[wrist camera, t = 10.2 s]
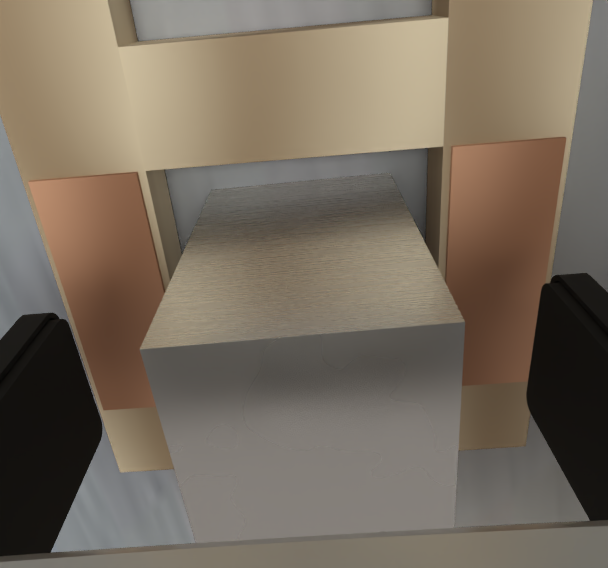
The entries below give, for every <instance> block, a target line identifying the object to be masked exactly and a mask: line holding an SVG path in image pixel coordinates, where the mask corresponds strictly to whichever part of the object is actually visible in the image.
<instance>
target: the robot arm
mask: <svg viewBox="0 0 608 568" xmlns="http://www.w3.org/2000/svg"><path fill="white" fill-rule="evenodd" d="M526 399H527V405H528V408H529V411H530V413H531V415H532V416H533V418H534V420H535V422H536V424H537V425H538V427H539V429H540V431H541V433H542V435H543V436H544V438H545V440H546V442H547V444H548V445H549V447H550V449H551V451H552V453H553V454H554V456H555V458H556V460H557V462H558V463H559V465H560V467H561V469H562V471H563V472H564V474H565V476H566V478H567V480H568V482H569V483H570V485H571V487H572V489H573V491H574V492H575V494H576V496H577V498H578V500H579V501H580V503H581V505H582V507H583V509H584V510H585V512H586V514H587V516H588V518H589V519H590V521H579V522H553V523H533V524H515V525H497V526H479V527H460V528H442V529H424V530H405V531H387V532H371V533H354V534H337V535H320V536H303V537H287V538H270V539H254V540H238V541H222V542H205V543H190V544H175V545H159V546H144V547H129V548H114V549H99V550H84V551H69V552H54V553H50V552H51V550H52V548H53V546H54V543H55V541H56V539H57V537H58V535H59V532H60V530H61V528H62V526H63V523H64V521H65V519H66V517H67V514H68V512H69V510H70V508H71V505H72V503H73V501H74V499H75V496H76V494H77V492H78V490H79V487H80V485H81V483H82V481H83V478H84V476H85V474H86V472H87V469H88V467H89V465H90V463H91V460H92V458H93V456H94V454H95V452H96V449H97V447H98V445H99V443H100V440H101V437H102V422H101V419H100V416H99V413H98V410H97V407H96V404H95V401H94V398H93V395H92V392H91V389H90V386H89V383H88V380H87V377H86V374H85V371H84V368H83V365H82V362H81V359H80V356H79V353H78V350H77V347H76V345H75V342H74V339H73V336H72V333H71V330H70V327H69V324H68V322H67V321H66V320H64V319H59V317H58V316H57V315H56V314H54V313H42V314H29V315H23V316H21V317H20V318H19V319H18V320H17V321H16V322H15V324H14V325H13V326H12V327H11V328H10V329H9V331H8V332H7V333H6V334H5V335H4V336H3V337H2V339H1V340H0V568H608V293H607V292H606V291H605V290H604V289H603V288H602V287H601V286H600V285H599V284H598V283H597V282H596V281H595V280H594V279H593V278H592V277H591V276H590V275H588V274H587V273H580V274H567V275H555V276H554V277H552V279H551V281H550V283H545V284H544V285H543V286H542V289H541V294H540V301H539V308H538V315H537V322H536V329H535V336H534V343H533V350H532V357H531V363H530V370H529V377H528V384H527V391H526Z"/></svg>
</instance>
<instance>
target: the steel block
mask: <svg viewBox="0 0 608 568" xmlns="http://www.w3.org/2000/svg"><path fill="white" fill-rule="evenodd" d="M464 334H465V321H464V319H463V317H462V315H461V313H460V311H459V309H458V307H457V305H456V303H455V301H454V299H453V297H452V295H451V293H450V291H449V289H448V287H447V285H446V283H445V281H444V279H443V277H442V275H441V273H440V271H439V269H438V267H437V265H436V263H435V261H434V259H433V257H432V255H431V253H430V251H429V250H428V248H427V246H426V244H425V242H424V240H423V238H422V236H421V234H420V232H419V230H418V228H417V226H416V224H415V222H414V220H413V218H412V216H411V214H410V212H409V210H408V208H407V206H406V204H405V202H404V200H403V198H402V196H401V194H400V192H399V190H398V188H397V186H396V184H395V182H394V180H393V178H392V176H391V174H390V173H381V174H371V175H360V176H350V177H340V178H329V179H319V180H308V181H298V182H288V183H277V184H267V185H256V186H246V187H236V188H225V189H215V190H211V192H210V194H209V196H208V199H207V201H206V203H205V205H204V207H203V210H202V212H201V214H200V216H199V219H198V221H197V223H196V225H195V227H194V230H193V232H192V234H191V236H190V239H189V241H188V243H187V245H186V247H185V250H184V252H183V254H182V256H181V259H180V261H179V263H178V265H177V267H176V270H175V272H174V274H173V276H172V279H171V281H170V283H169V285H168V287H167V290H166V292H165V294H164V296H163V298H162V301H161V303H160V305H159V307H158V310H157V312H156V314H155V316H154V318H153V321H152V323H151V325H150V327H149V330H148V332H147V334H146V336H145V338H144V341H143V343H142V345H141V347H140V353H141V356H142V360H143V363H144V367H145V370H146V373H147V377H148V380H149V384H150V387H151V391H152V394H153V398H154V401H155V404H156V408H157V411H158V415H159V418H160V422H161V425H162V428H163V432H164V435H165V439H166V442H167V446H168V449H169V453H170V456H171V459H172V463H173V466H174V470H175V473H176V477H177V480H178V483H179V487H180V490H181V494H182V497H183V501H184V504H185V508H186V511H187V514H188V518H189V521H190V525H191V528H192V532H193V535H194V539H195V542H196V543H205V542H222V541H238V540H254V539H270V538H287V537H303V536H320V535H337V534H354V533H371V532H387V531H405V530H424V529H442V528H454V526H455V507H456V488H457V469H458V449H459V430H460V411H461V391H462V372H463V353H464Z"/></svg>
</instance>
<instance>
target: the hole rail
mask: <svg viewBox="0 0 608 568" xmlns="http://www.w3.org/2000/svg"><path fill="white" fill-rule="evenodd" d="M592 3H593V0H432V15H428V16H417V17H406V18H395V19H384V20H372V21H361V22H350V23H339V24H328V25H317V26H306V27H294V28H283V29H272V30H261V31H250V32H239V33H227V34H216V35H205V36H194V37H183V38H172V39H161V40H149V41H138V40H137V35H136V30H135V25H134V20H133V15H132V11H131V6H130V1H129V0H0V115H1V118H2V121H3V124H4V127H5V130H6V133H7V136H8V139H9V142H10V145H11V148H12V151H13V154H14V157H15V160H16V163H17V166H18V169H19V172H20V175H21V178H22V181H23V184H24V187H25V190H26V193H27V196H28V199H29V202H30V205H31V208H32V211H33V214H34V217H35V220H36V223H37V226H38V229H39V232H40V235H41V237H42V240H43V243H44V246H45V249H46V252H47V255H48V258H49V261H50V264H51V267H52V270H53V273H54V276H55V279H56V282H57V285H58V288H59V291H60V294H61V297H62V300H63V303H64V306H65V309H66V312H67V315H68V318H69V321H70V324H71V327H72V330H73V333H74V336H75V339H76V342H77V345H78V348H79V351H80V354H81V357H82V360H83V363H84V366H85V369H86V372H87V375H88V378H89V381H90V384H91V387H92V390H93V393H94V396H95V399H96V401H97V404H98V407H99V410H100V413H101V416H102V419H103V422H104V425H105V428H106V431H107V434H108V437H109V440H110V443H111V446H112V449H113V452H114V455H115V458H116V461H117V464H118V467H119V470H120V472H136V471H151V470H167V469H174V466H173V463H172V459H171V456H170V453H169V449H168V446H167V442H166V439H165V435H164V432H163V428H162V425H161V422H160V418H159V415H158V411H157V408H156V404H155V401H154V398H153V394H152V391H151V387H150V384H149V380H148V377H147V373H146V370H145V367H144V363H143V360H142V356H141V353H140V347H141V345H142V343H143V341H144V338H145V336H146V334H147V332H148V330H149V327H150V325H151V323H152V321H153V318H154V316H155V314H156V312H157V310H158V307H159V305H160V303H161V301H162V298H163V296H164V294H165V292H166V290H167V287H168V285H169V283H170V281H171V279H172V276H173V274H174V272H175V270H176V267H177V265H178V263H179V261H180V259H181V256H182V253H181V248H180V243H179V238H178V234H177V229H176V224H175V219H174V214H173V209H172V205H171V200H170V195H169V190H168V185H167V180H166V175H165V171H164V169H175V168H187V167H199V166H212V165H224V164H236V163H248V162H260V161H272V160H285V159H297V158H309V157H321V156H333V155H345V154H358V153H370V152H382V151H394V150H406V149H418V148H428V173H427V209H426V246H427V248H428V250H429V251H430V253H431V255H432V257H433V259H434V261H435V263H436V265H437V267H438V269H439V271H440V273H441V275H442V277H443V279H444V281H445V283H446V285H447V287H448V289H449V291H450V293H451V295H452V297H453V299H454V301H455V303H456V305H457V307H458V309H459V311H460V313H461V315H462V317H463V319H464V321H465V334H464V353H463V372H462V391H461V411H460V430H459V449H458V451H460V450H475V449H490V448H506V447H521V446H526V439H527V432H528V426H529V419H530V411H529V408H528V405H527V399H526V391H527V384H528V377H529V370H530V363H531V357H532V350H533V343H534V336H535V329H536V322H537V315H538V308H539V301H540V294H541V289H542V286H543V285H544V284H545V283H550V281H551V274H552V267H553V261H554V254H555V247H556V241H557V234H558V228H559V221H560V214H561V208H562V201H563V195H564V188H565V181H566V175H567V168H568V162H569V155H570V148H571V142H572V135H573V129H574V122H575V115H576V109H577V102H578V96H579V89H580V82H581V76H582V69H583V63H584V56H585V49H586V43H587V36H588V30H589V23H590V16H591V10H592Z"/></svg>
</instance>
